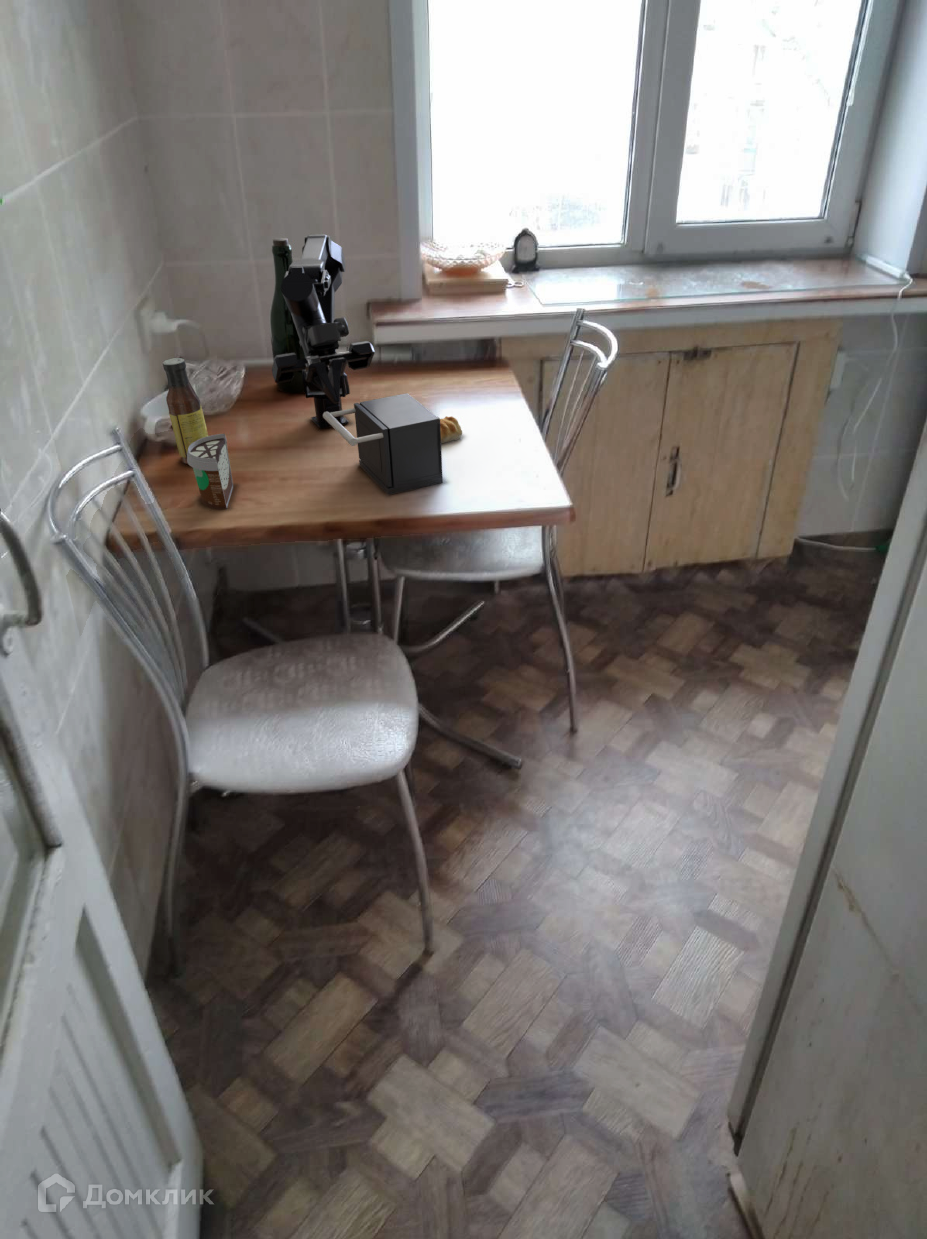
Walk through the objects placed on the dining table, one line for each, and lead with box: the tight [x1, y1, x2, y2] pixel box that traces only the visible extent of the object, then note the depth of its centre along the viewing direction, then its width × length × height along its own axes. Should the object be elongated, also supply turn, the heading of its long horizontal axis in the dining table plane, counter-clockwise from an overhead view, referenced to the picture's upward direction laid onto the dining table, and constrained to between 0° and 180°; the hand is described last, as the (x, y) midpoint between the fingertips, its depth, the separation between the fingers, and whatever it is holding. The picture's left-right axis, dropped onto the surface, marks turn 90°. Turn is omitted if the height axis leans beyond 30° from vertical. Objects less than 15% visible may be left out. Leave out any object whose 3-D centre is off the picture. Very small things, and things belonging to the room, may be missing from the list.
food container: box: [187, 433, 234, 510], centre depth 162 cm, size 12×6×10 cm, turn 5°
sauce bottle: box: [162, 357, 209, 465], centre depth 174 cm, size 6×6×20 cm
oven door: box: [323, 402, 392, 487], centre depth 165 cm, size 7×15×11 cm, turn 26°
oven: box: [358, 392, 444, 496], centre depth 168 cm, size 11×15×12 cm
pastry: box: [440, 416, 463, 444], centre depth 185 cm, size 9×7×4 cm
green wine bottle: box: [268, 237, 305, 394], centre depth 205 cm, size 10×10×33 cm
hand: (337, 402), depth 167 cm, fingers closed
